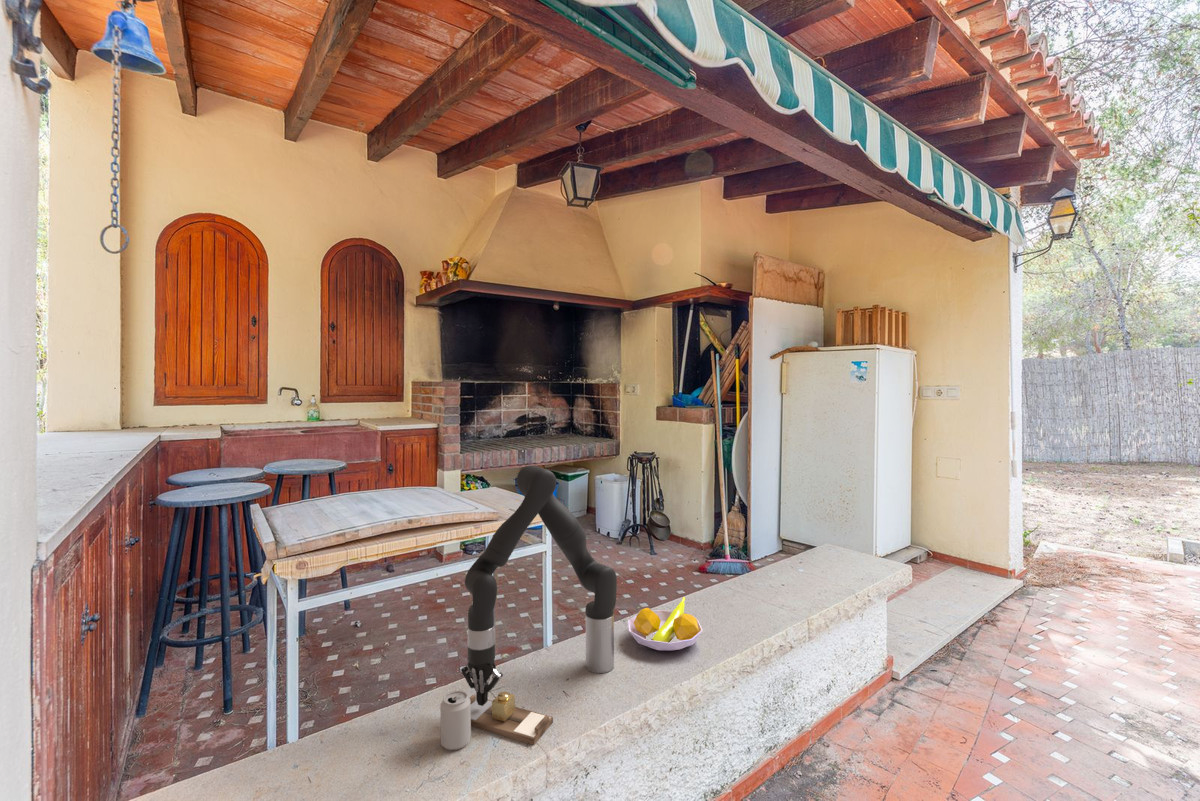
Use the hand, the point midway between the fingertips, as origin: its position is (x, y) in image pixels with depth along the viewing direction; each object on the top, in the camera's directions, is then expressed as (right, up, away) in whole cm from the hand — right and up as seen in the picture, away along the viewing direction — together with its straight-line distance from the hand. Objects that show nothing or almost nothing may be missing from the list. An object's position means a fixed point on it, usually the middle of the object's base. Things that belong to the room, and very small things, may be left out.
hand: (482, 703), depth 148 cm
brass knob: (+7, -1, -3) cm, 7 cm away
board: (+7, -3, -3) cm, 8 cm away
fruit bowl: (+57, -2, +44) cm, 72 cm away
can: (-4, -4, -11) cm, 13 cm away
